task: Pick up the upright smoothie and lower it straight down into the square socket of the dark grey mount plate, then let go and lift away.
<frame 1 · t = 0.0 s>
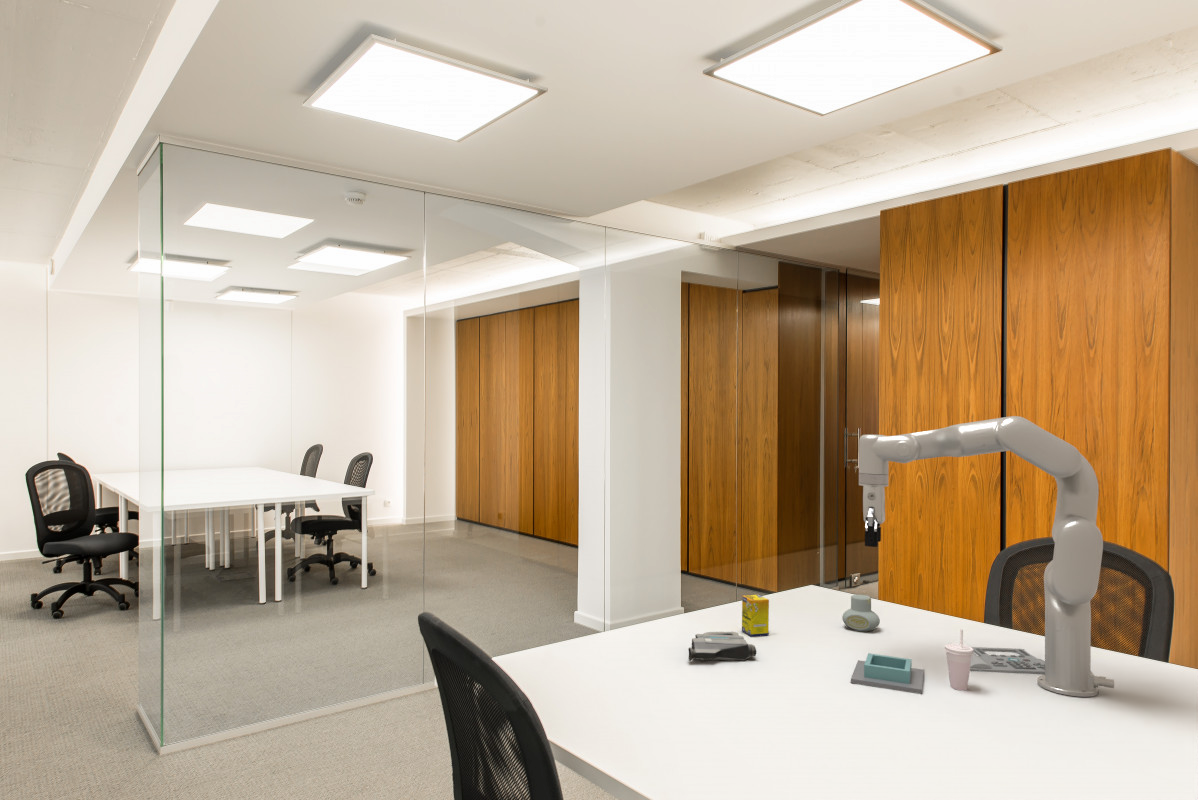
hand: (872, 543, 204), 31 cm above the table, tool pointing down, fingers open, 9 cm apart
smoothie: (958, 688, 184), on the table
air freshener: (860, 629, 234), on the table
mount: (888, 678, 190), on the table
supplement box: (754, 634, 227), on the table
office telephone: (998, 663, 205), on the table
camcorder: (719, 655, 207), on the table
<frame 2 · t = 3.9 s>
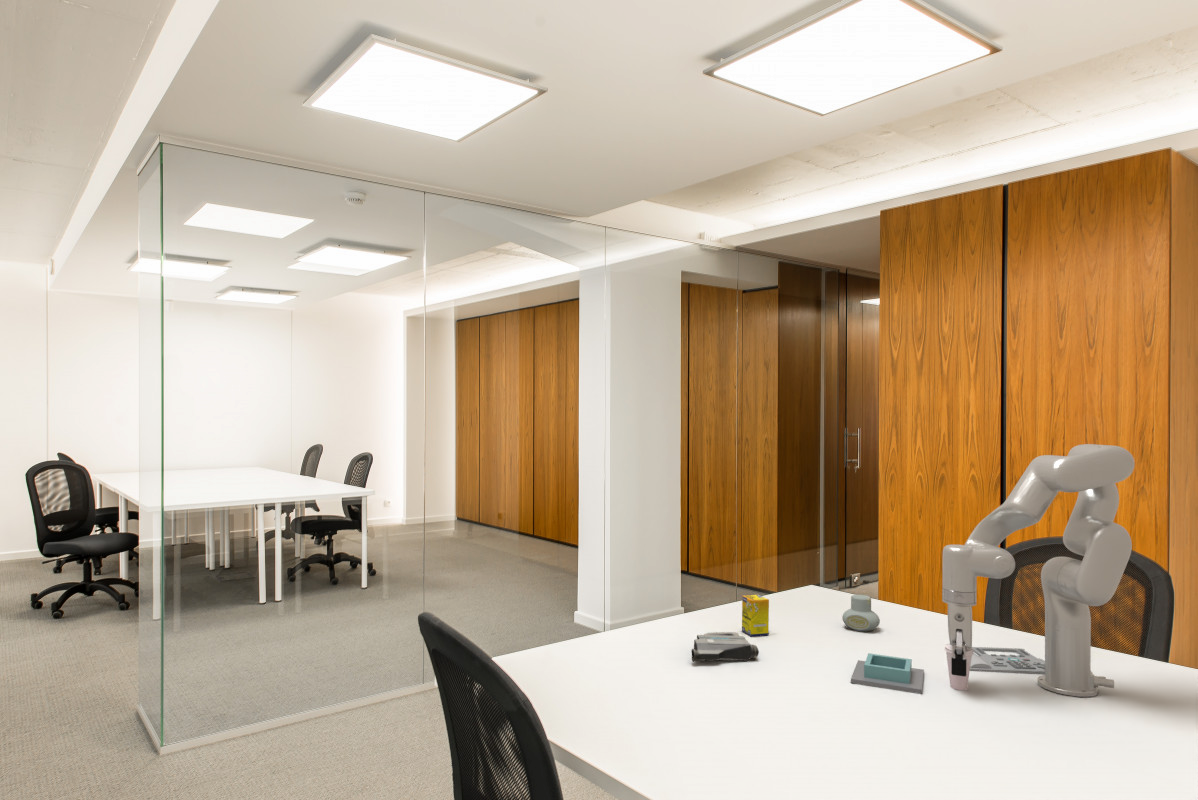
hand: (958, 670, 184), 4 cm above the table, tool pointing down, fingers closed on smoothie, 6 cm apart
smoothie: (958, 688, 184), on the table, touching gripper
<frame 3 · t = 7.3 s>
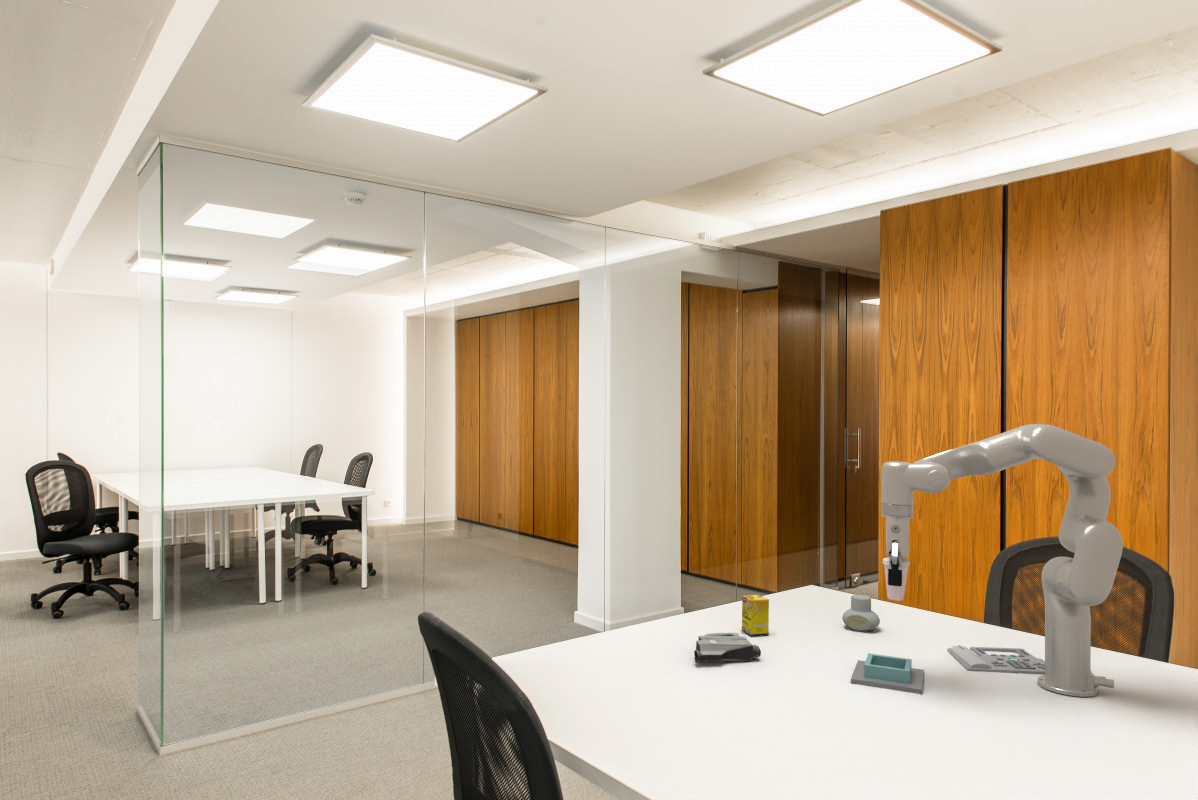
hand: (895, 582, 189), 24 cm above the table, tool pointing down, fingers closed on smoothie, 6 cm apart
smoothie: (895, 599, 189), point 20 cm above the table, touching gripper
when the fingers open (6 cm above the table, at t = 10.5 s): smoothie drops 1 cm, resting on mount.
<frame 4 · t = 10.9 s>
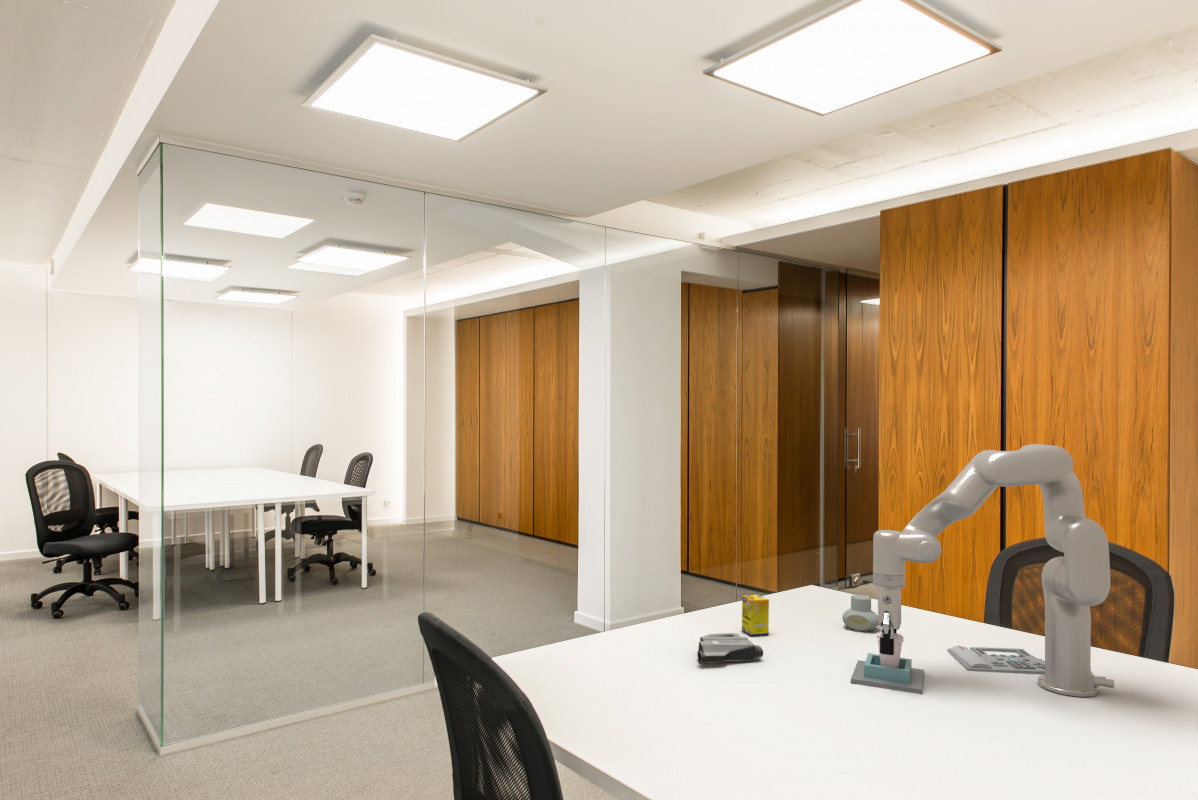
hand: (888, 648, 190), 7 cm above the table, tool pointing down, fingers open, 9 cm apart
smoothie: (889, 674, 189), point 1 cm above the table, touching mount
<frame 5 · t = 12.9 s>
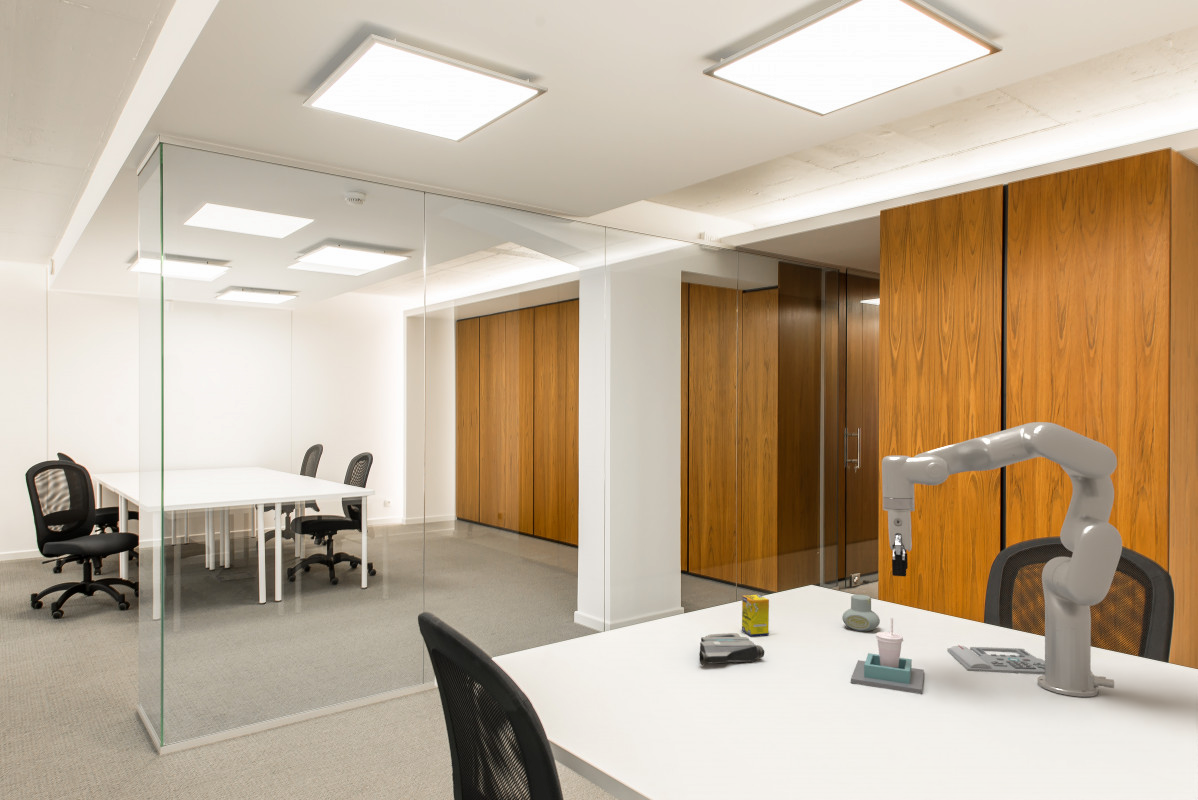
hand: (900, 572, 192), 26 cm above the table, tool pointing down, fingers open, 9 cm apart
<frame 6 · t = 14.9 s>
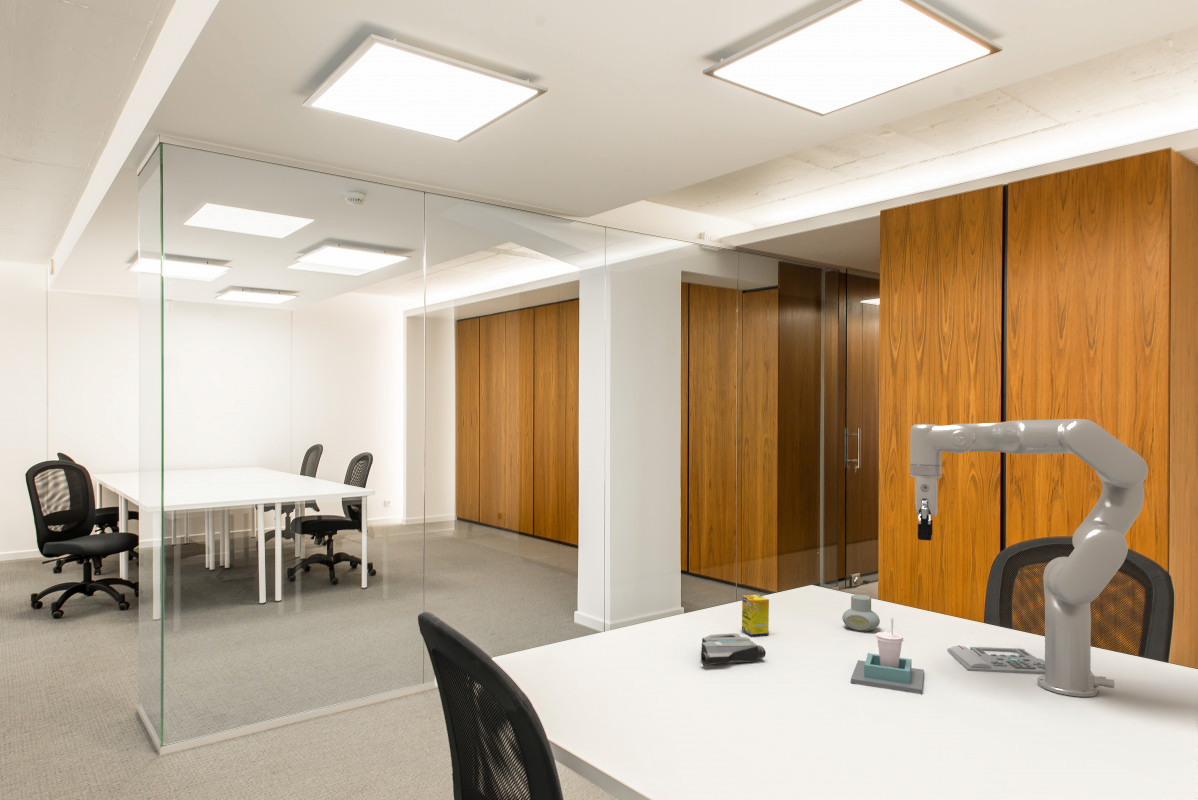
hand: (925, 537, 197), 34 cm above the table, tool pointing down, fingers open, 9 cm apart
at the end: smoothie 0.3 cm off-centre on the mount, point 0.8 cm above the mount's base; smoothie tilted 0°; the gripper is holding nothing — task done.
